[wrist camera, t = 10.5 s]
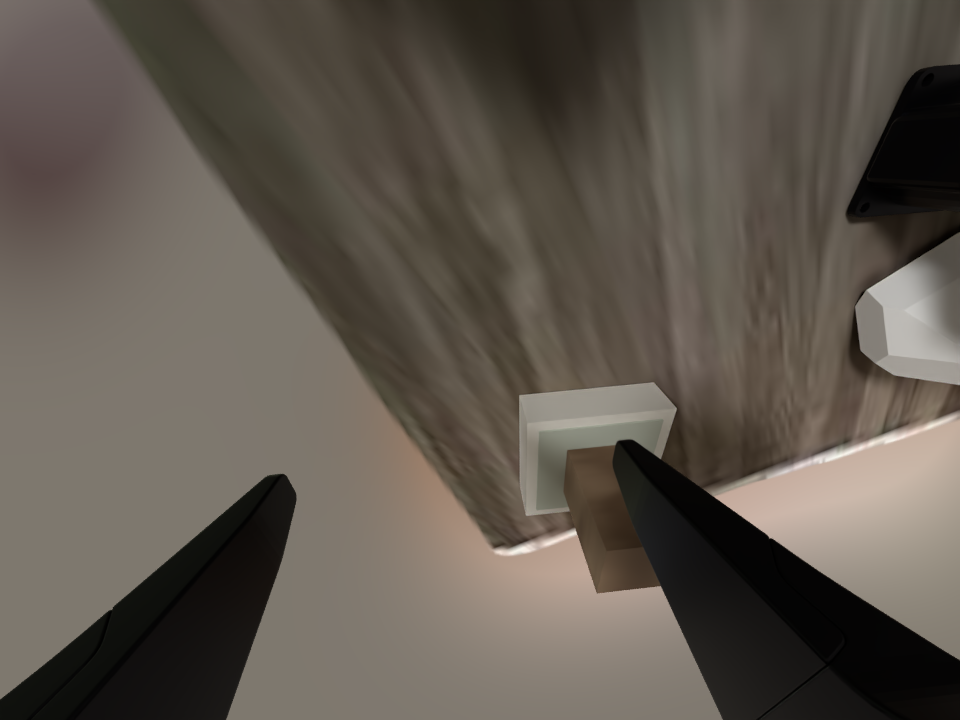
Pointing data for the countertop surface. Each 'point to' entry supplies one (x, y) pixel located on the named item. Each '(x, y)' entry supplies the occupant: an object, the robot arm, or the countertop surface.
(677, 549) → the robot arm
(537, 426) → the base slab
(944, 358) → the crystal
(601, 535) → the walnut block
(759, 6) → the countertop surface
